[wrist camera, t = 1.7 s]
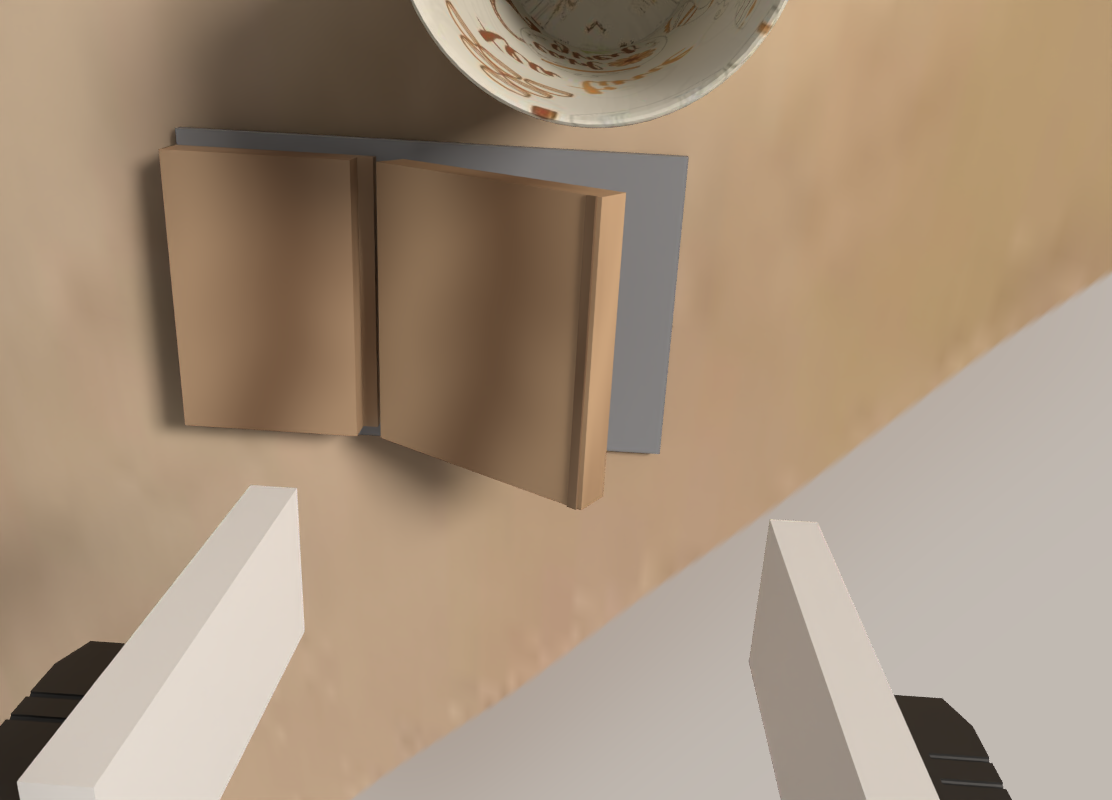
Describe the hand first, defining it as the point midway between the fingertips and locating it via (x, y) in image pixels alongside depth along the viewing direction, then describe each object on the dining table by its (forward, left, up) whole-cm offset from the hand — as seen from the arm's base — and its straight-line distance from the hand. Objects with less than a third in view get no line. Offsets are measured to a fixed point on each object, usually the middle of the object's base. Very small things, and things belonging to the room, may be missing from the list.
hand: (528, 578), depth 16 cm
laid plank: (-10, 0, -17) cm, 20 cm away
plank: (-2, 0, -14) cm, 14 cm away
